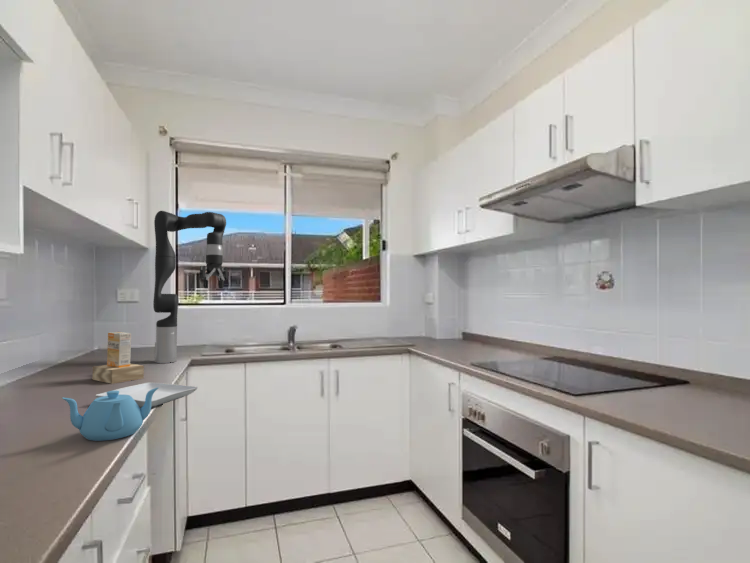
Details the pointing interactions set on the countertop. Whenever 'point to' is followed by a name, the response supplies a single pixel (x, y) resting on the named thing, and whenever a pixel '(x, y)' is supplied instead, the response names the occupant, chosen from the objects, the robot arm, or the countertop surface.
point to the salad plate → (160, 395)
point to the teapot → (110, 416)
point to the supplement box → (119, 349)
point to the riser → (117, 373)
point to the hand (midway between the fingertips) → (213, 288)
